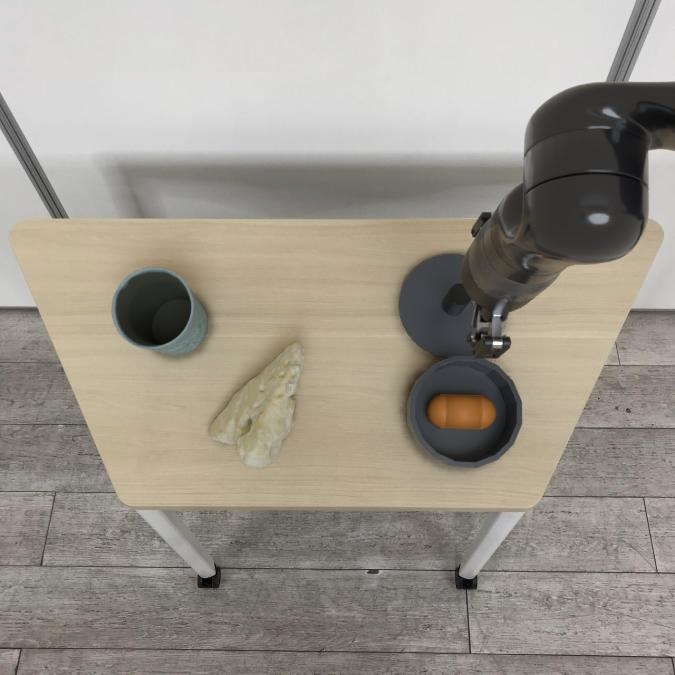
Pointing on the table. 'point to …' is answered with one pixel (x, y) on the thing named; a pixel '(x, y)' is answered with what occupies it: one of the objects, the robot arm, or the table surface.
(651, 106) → the robot arm
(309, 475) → the table surface
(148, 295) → the blue cup
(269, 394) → the cream rock
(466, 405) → the bread
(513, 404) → the pot
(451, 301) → the lid
